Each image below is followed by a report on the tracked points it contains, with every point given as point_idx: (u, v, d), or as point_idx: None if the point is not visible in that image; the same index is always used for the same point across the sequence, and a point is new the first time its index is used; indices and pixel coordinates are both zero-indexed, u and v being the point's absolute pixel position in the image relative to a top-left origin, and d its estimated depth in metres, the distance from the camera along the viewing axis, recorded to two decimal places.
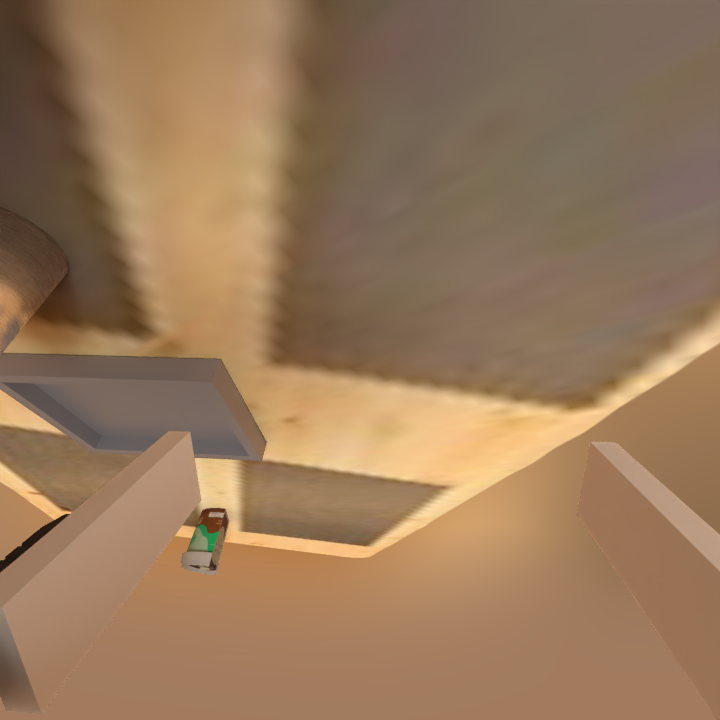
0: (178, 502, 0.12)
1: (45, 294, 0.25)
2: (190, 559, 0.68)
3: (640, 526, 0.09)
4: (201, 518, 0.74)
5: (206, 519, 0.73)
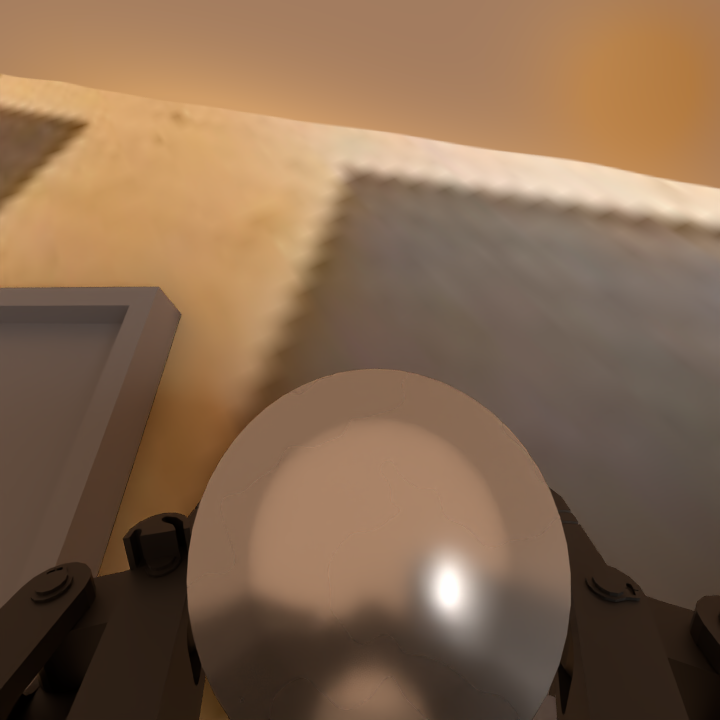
0: None
1: None
2: None
3: None
4: None
5: None
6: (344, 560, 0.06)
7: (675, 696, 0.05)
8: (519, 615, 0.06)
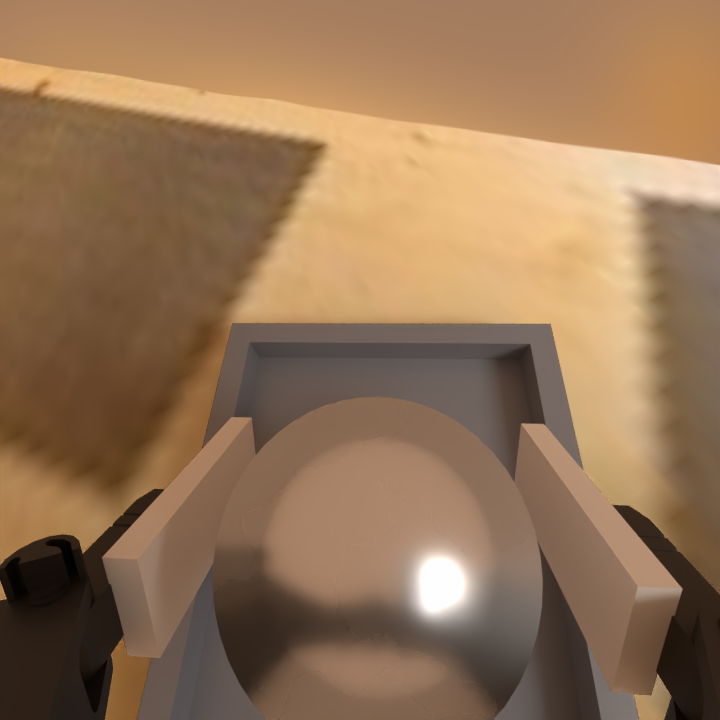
0: None
1: None
2: None
3: (550, 495, 0.11)
4: None
5: None
6: (347, 569, 0.07)
7: None
8: (498, 616, 0.06)
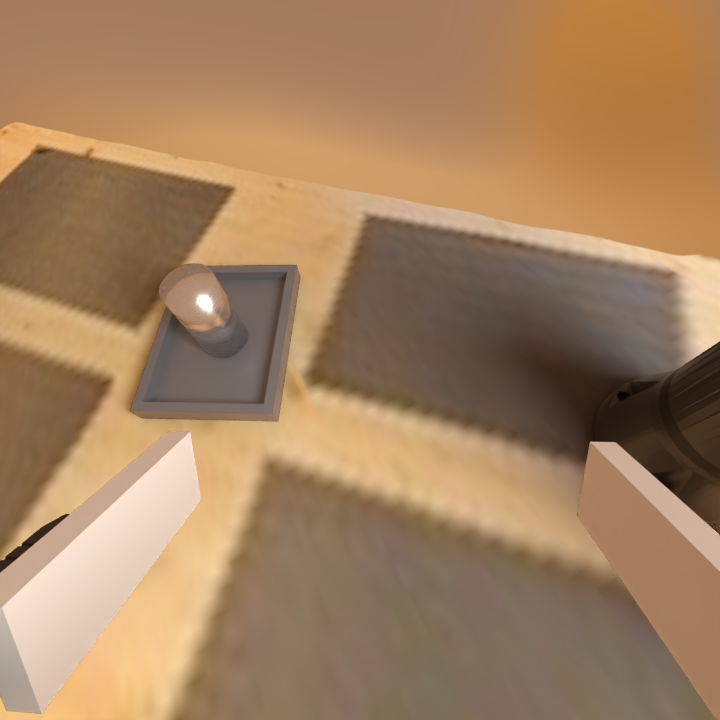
0: (178, 502, 0.12)
1: (199, 343, 0.47)
2: None
3: (640, 526, 0.09)
4: None
5: None
6: (182, 287, 0.41)
7: None
8: (204, 292, 0.40)
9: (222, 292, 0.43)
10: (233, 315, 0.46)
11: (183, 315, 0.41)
